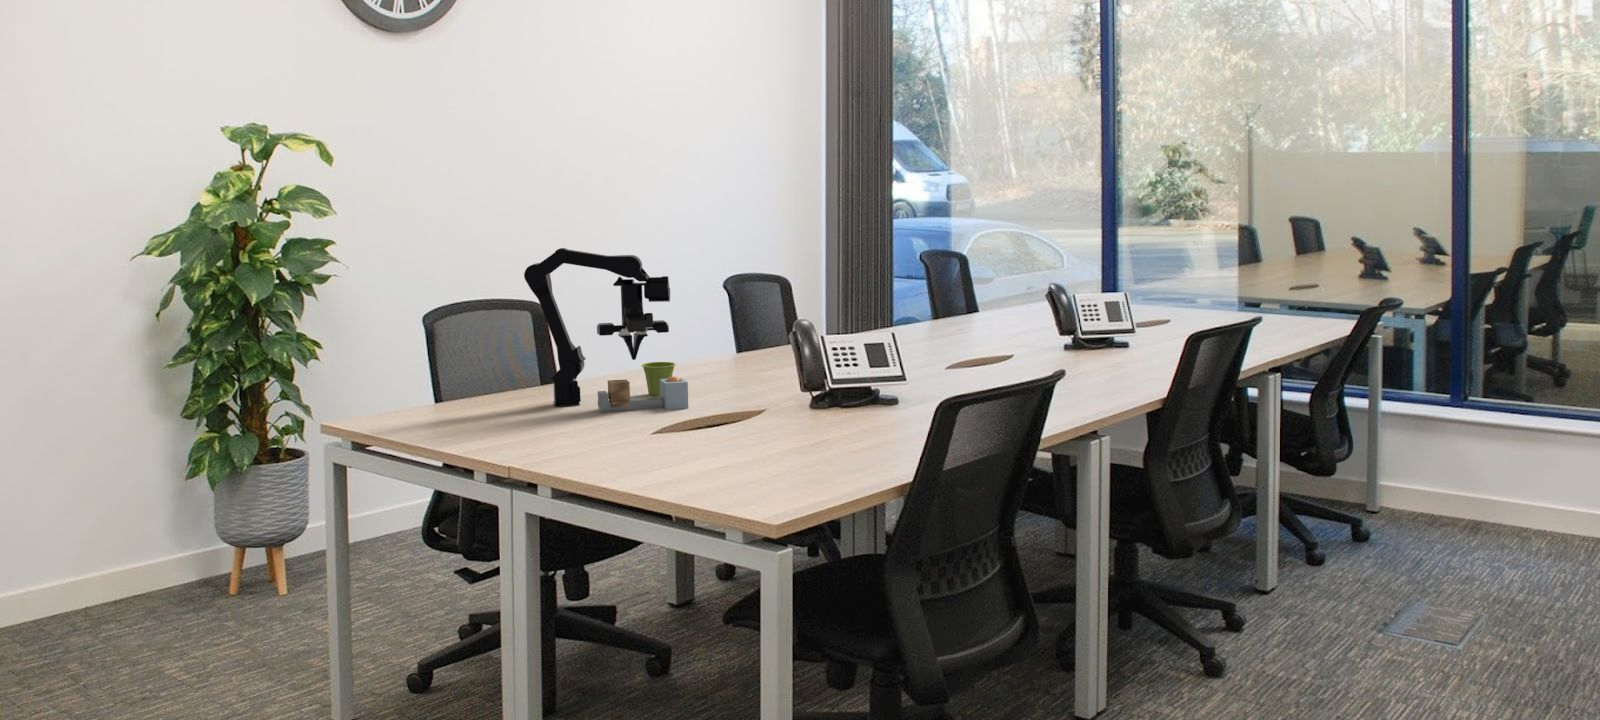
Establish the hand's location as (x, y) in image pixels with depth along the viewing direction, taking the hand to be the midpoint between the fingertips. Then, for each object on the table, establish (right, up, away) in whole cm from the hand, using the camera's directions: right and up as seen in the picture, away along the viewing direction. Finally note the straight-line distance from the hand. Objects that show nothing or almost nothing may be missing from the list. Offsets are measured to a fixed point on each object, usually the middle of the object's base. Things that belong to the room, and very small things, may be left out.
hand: (633, 359), depth 372 cm
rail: (+2, -13, -7) cm, 15 cm away
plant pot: (+5, -10, +16) cm, 19 cm away
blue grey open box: (+11, -13, -4) cm, 17 cm away
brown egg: (+11, -8, -5) cm, 15 cm away
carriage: (-3, -12, -9) cm, 15 cm away
